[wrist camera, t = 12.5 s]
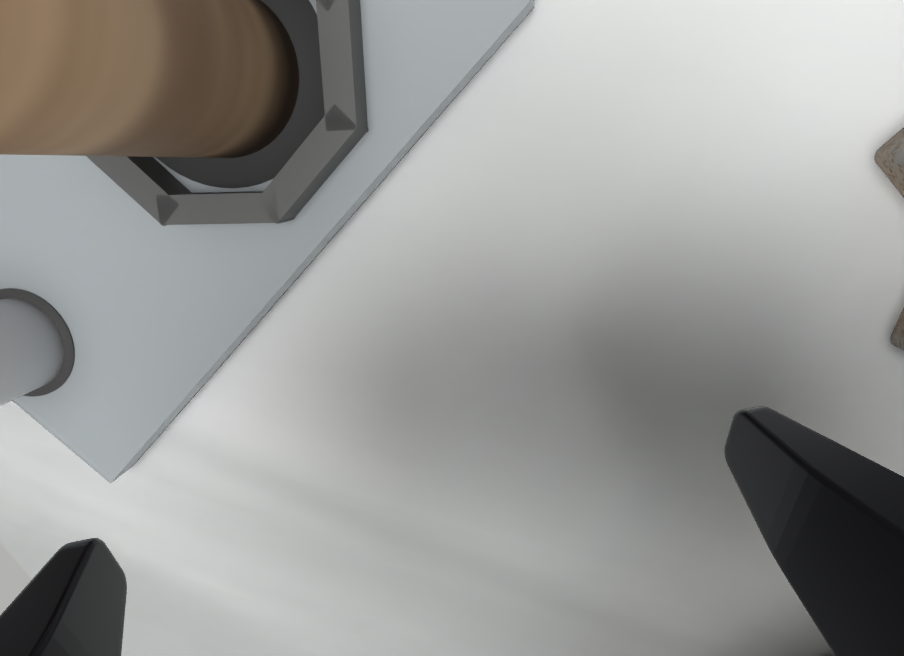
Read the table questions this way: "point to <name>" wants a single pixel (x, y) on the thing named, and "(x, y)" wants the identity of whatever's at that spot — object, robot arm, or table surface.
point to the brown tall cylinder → (143, 77)
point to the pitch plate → (211, 223)
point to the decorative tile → (900, 164)
